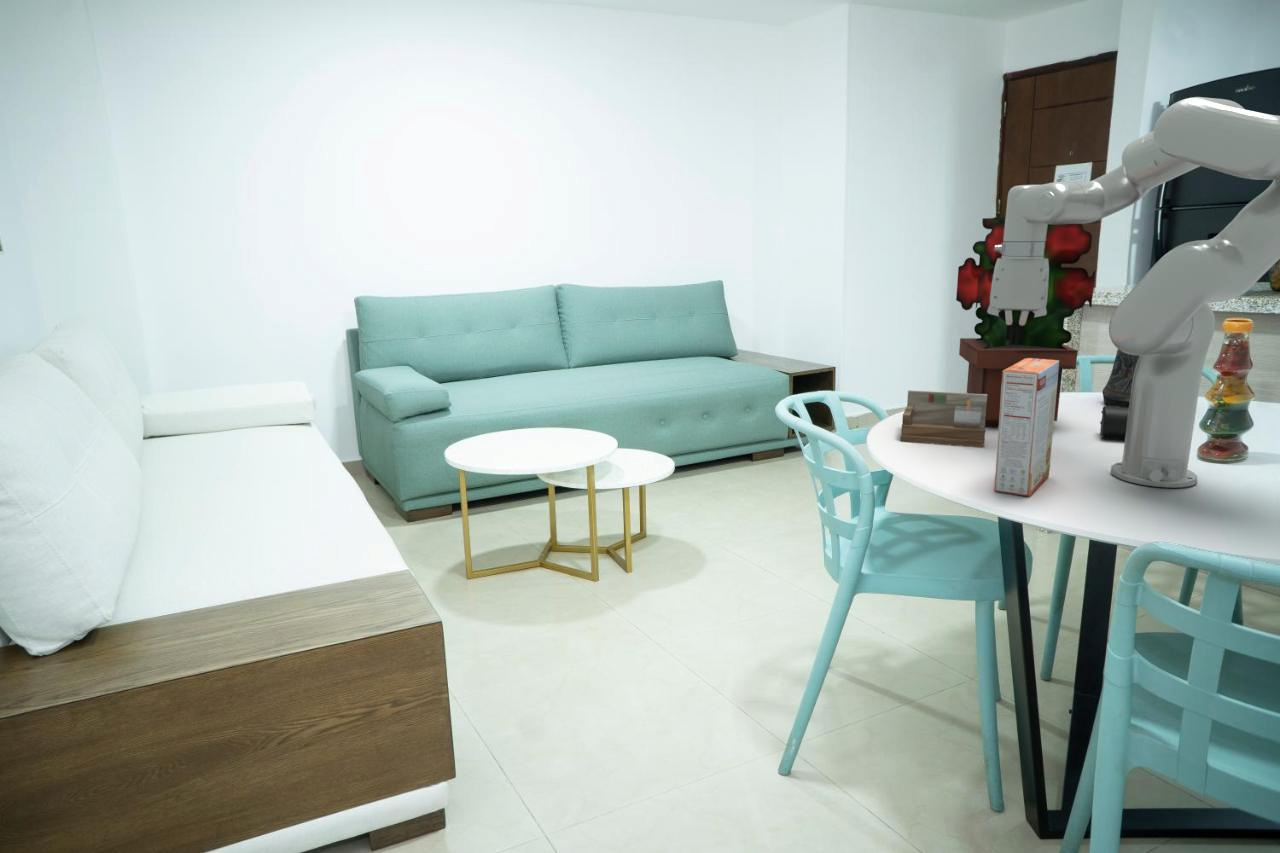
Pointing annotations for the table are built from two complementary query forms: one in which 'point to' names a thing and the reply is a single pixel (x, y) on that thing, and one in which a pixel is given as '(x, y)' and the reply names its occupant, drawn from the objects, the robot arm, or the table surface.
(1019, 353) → the potted plant
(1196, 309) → the robot arm
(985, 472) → the table surface
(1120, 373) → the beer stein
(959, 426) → the white block with knob
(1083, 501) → the table surface
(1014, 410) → the cracker box
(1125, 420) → the end cap
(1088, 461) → the table surface
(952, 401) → the wooden toy tray
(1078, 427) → the table surface
